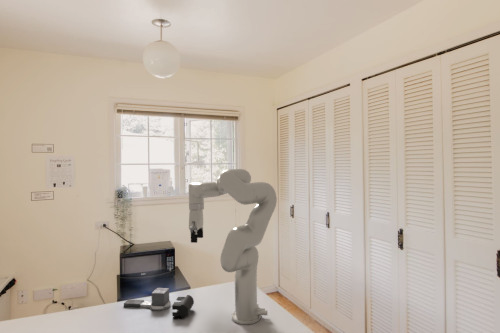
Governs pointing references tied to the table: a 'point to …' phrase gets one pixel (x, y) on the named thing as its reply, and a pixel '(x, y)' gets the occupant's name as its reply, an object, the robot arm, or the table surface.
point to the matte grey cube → (160, 296)
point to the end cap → (182, 307)
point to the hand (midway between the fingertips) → (197, 239)
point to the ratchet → (145, 305)
